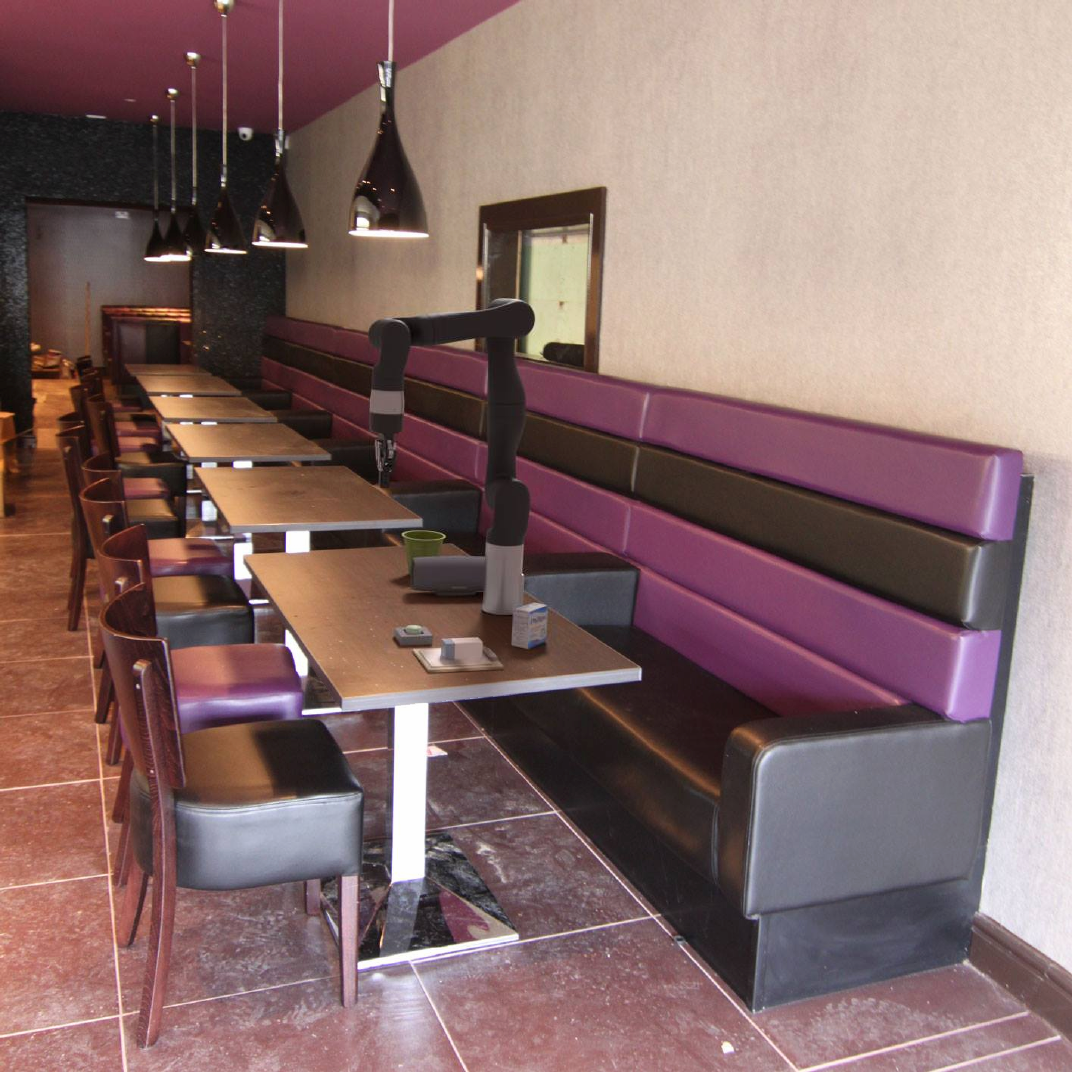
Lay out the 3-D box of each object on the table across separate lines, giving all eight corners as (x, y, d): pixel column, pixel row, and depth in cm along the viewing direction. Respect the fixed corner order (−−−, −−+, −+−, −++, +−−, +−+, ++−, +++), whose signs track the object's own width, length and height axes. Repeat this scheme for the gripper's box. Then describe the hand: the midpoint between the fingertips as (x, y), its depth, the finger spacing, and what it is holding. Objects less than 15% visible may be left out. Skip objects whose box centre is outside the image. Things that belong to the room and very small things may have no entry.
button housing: (424, 635, 252) (425, 626, 251) (432, 644, 245) (432, 635, 245) (394, 636, 250) (394, 627, 249) (401, 645, 243) (401, 636, 243)
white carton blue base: (477, 653, 239) (477, 637, 238) (481, 658, 236) (482, 642, 235) (440, 654, 236) (441, 638, 235) (445, 659, 233) (445, 643, 232)
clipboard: (484, 648, 245) (484, 642, 245) (503, 669, 232) (503, 662, 232) (412, 651, 239) (412, 645, 239) (428, 672, 227) (428, 666, 226)
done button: (419, 636, 250) (419, 624, 249) (422, 640, 246) (423, 629, 246) (404, 636, 248) (404, 625, 248) (407, 641, 245) (408, 629, 245)
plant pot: (394, 577, 302) (395, 536, 299) (408, 568, 313) (410, 528, 311) (436, 582, 299) (437, 541, 297) (449, 572, 311) (450, 533, 308)
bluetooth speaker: (493, 588, 297) (495, 552, 295) (502, 598, 288) (504, 560, 286) (408, 589, 290) (410, 552, 288) (414, 599, 282) (416, 560, 280)
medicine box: (527, 650, 246) (530, 612, 244) (510, 645, 248) (512, 608, 246) (546, 642, 253) (548, 605, 251) (529, 638, 255) (531, 601, 253)
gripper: (410, 414, 243) (407, 492, 246) (397, 407, 255) (394, 482, 259) (376, 413, 240) (373, 492, 244) (364, 407, 253) (362, 482, 256)
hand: (384, 487), depth 251 cm, fingers closed
